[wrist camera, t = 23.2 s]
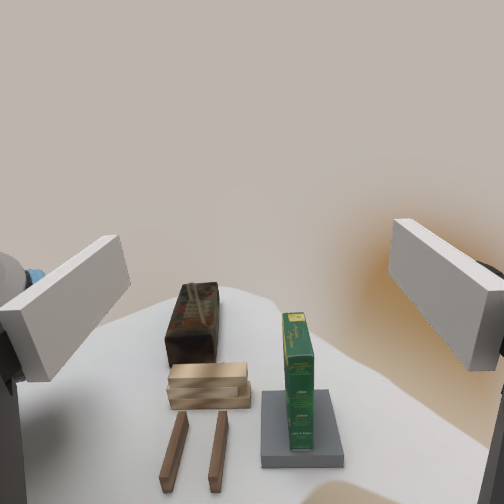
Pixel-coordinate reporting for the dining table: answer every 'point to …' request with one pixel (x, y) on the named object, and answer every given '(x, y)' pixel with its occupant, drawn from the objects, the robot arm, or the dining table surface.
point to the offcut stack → (209, 386)
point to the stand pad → (277, 434)
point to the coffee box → (298, 381)
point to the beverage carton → (194, 325)
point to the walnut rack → (176, 449)
